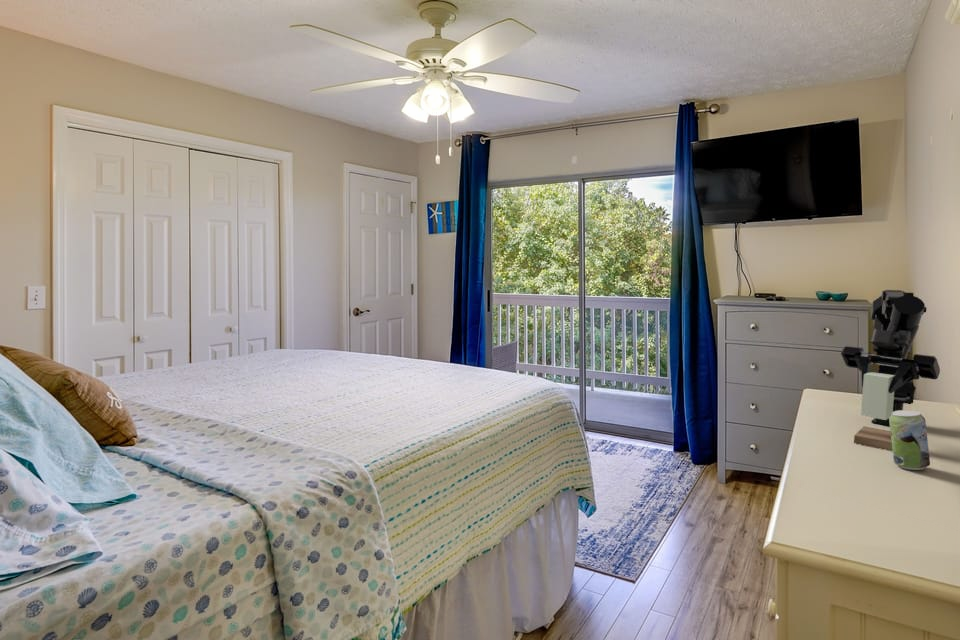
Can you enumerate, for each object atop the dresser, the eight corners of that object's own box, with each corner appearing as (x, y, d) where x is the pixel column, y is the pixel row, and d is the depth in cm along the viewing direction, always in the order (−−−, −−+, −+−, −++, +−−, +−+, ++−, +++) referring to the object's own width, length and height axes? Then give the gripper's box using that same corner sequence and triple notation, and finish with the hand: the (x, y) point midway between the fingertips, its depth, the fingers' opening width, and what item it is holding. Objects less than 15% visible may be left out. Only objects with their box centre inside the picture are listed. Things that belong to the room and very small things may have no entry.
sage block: (867, 412, 134) (871, 371, 133) (892, 417, 130) (895, 375, 129) (860, 415, 132) (863, 374, 131) (885, 420, 128) (888, 377, 127)
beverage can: (936, 474, 113) (941, 416, 111) (895, 471, 114) (900, 414, 113) (918, 463, 119) (923, 408, 117) (879, 460, 120) (884, 406, 119)
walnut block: (862, 435, 139) (863, 426, 138) (913, 445, 132) (913, 435, 131) (853, 445, 132) (854, 435, 131) (906, 456, 125) (907, 445, 124)
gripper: (846, 313, 138) (823, 362, 133) (940, 320, 123) (917, 376, 118) (858, 341, 144) (836, 389, 139) (948, 351, 128) (927, 405, 124)
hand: (876, 389), depth 130 cm, fingers closed on sage block, 5 cm apart
